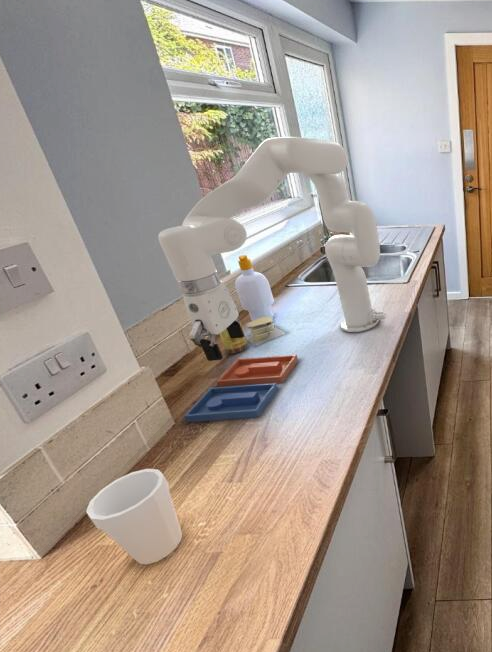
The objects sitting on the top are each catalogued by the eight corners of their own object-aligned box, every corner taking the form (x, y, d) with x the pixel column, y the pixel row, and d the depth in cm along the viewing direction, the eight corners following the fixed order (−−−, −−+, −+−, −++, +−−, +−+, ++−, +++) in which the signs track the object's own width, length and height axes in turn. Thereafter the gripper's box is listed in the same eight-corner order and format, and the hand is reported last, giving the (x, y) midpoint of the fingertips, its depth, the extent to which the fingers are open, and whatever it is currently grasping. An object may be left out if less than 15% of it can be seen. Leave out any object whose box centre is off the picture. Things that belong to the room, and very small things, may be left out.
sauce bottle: (238, 355, 125) (216, 297, 117) (221, 354, 126) (198, 296, 118) (253, 344, 131) (234, 288, 123) (237, 343, 132) (216, 287, 124)
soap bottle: (247, 327, 142) (224, 263, 132) (248, 316, 151) (226, 255, 140) (279, 320, 146) (259, 257, 136) (278, 309, 155) (259, 249, 144)
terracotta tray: (298, 360, 121) (296, 354, 120) (282, 382, 111) (280, 376, 110) (240, 364, 120) (237, 358, 120) (218, 387, 110) (216, 381, 109)
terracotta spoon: (283, 366, 118) (281, 359, 116) (277, 375, 114) (274, 367, 113) (241, 369, 117) (238, 362, 116) (233, 378, 113) (230, 371, 112)
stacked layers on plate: (256, 346, 130) (250, 331, 128) (243, 338, 135) (238, 324, 133) (286, 333, 137) (281, 318, 135) (273, 326, 142) (269, 312, 140)
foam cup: (150, 523, 73) (118, 471, 67) (203, 518, 73) (176, 465, 68) (109, 577, 64) (69, 523, 59) (170, 571, 65) (135, 516, 59)
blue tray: (278, 388, 108) (276, 382, 108) (258, 417, 98) (256, 410, 97) (213, 393, 108) (210, 387, 107) (186, 422, 98) (183, 416, 97)
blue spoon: (262, 396, 105) (259, 388, 104) (254, 407, 101) (251, 399, 100) (214, 399, 104) (211, 392, 103) (204, 411, 101) (200, 403, 100)
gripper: (193, 298, 81) (223, 367, 89) (237, 267, 97) (259, 329, 104) (155, 301, 81) (188, 370, 89) (205, 269, 97) (230, 331, 104)
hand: (227, 348), depth 97 cm, fingers open, 9 cm apart
